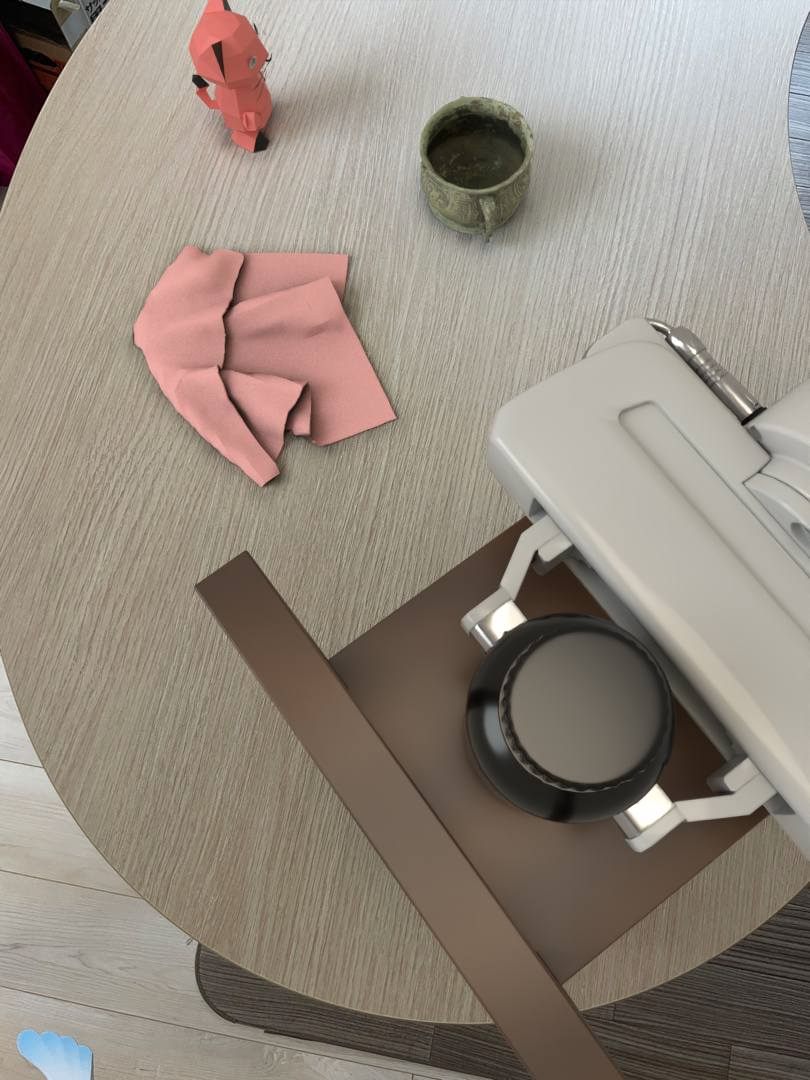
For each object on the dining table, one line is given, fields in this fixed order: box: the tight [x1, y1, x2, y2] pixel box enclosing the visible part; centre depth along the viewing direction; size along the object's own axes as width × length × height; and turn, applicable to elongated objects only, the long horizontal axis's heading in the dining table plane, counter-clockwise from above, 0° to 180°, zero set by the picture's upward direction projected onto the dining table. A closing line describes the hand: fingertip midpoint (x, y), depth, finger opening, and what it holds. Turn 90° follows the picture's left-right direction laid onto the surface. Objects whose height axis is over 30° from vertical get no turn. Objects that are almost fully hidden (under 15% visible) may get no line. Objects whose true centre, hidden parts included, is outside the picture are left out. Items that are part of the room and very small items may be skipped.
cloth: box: [131, 245, 397, 488], centre depth 72 cm, size 20×22×2 cm
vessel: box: [419, 95, 535, 244], centre depth 74 cm, size 12×9×6 cm
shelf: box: [193, 514, 771, 1080], centre depth 43 cm, size 16×14×44 cm
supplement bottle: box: [463, 613, 676, 824], centre depth 33 cm, size 7×7×12 cm
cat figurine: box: [188, 0, 273, 154], centre depth 74 cm, size 7×7×12 cm
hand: (546, 734), depth 32 cm, fingers closed on supplement bottle, 7 cm apart
